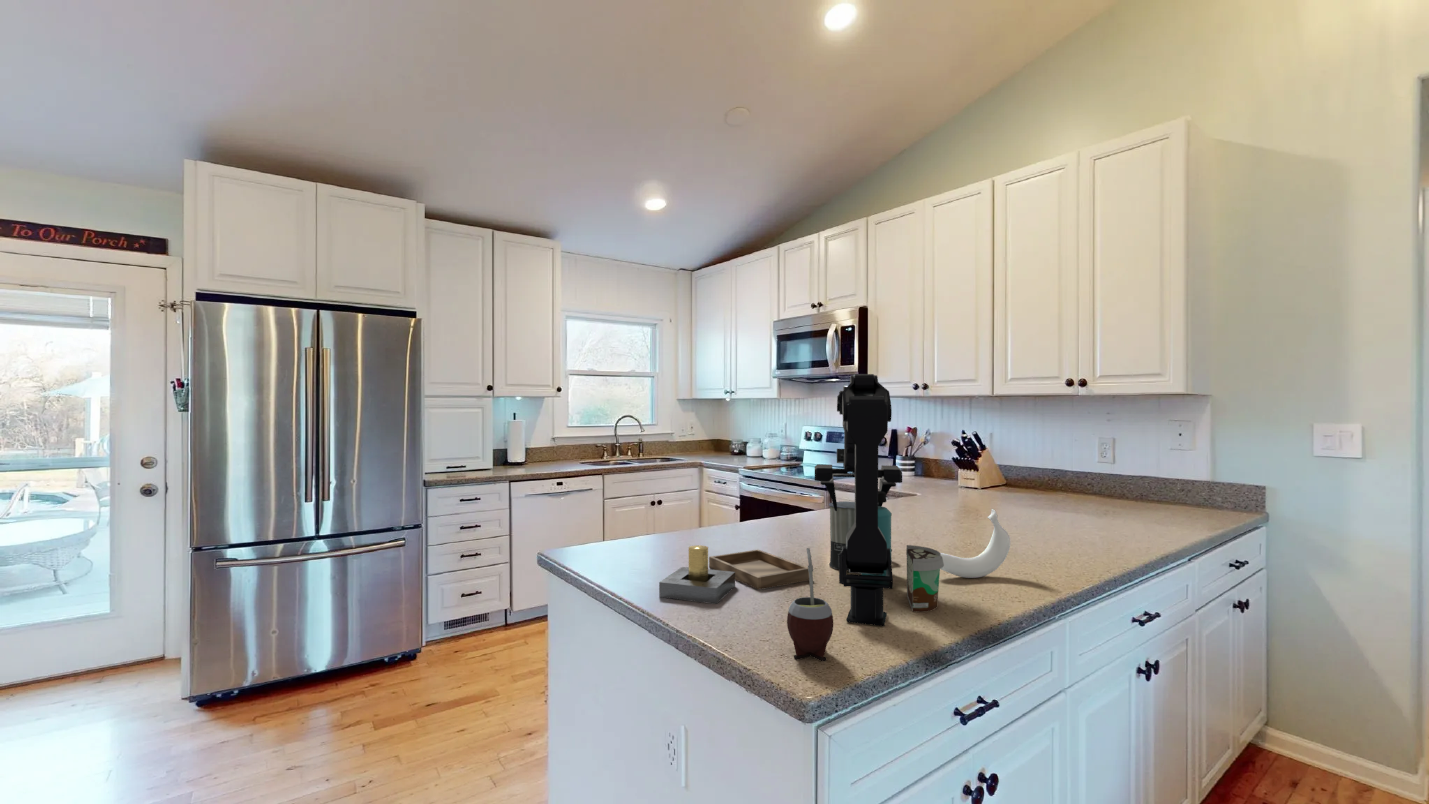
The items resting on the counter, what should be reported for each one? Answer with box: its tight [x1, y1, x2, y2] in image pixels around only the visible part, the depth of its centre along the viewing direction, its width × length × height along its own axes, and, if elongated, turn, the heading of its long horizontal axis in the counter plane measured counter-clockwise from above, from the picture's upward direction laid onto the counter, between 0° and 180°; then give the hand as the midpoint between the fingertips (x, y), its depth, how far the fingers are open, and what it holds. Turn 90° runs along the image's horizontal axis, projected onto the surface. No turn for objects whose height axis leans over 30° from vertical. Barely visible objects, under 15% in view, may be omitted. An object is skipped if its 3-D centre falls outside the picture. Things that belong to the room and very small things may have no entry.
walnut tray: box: [708, 549, 809, 591], centre depth 138 cm, size 20×14×2 cm
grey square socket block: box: [658, 566, 736, 605], centre depth 125 cm, size 12×12×3 cm
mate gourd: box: [786, 547, 834, 663], centre depth 94 cm, size 8×8×15 cm
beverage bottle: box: [860, 490, 893, 576], centre depth 129 cm, size 6×7×20 cm
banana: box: [940, 508, 1011, 579], centre depth 136 cm, size 5×19×15 cm, turn 100°
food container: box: [905, 544, 944, 613], centre depth 117 cm, size 12×6×10 cm, turn 168°
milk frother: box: [828, 501, 893, 572], centre depth 146 cm, size 14×16×15 cm
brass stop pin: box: [688, 544, 709, 582], centre depth 125 cm, size 4×4×9 cm
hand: (856, 511), depth 136 cm, fingers open, 9 cm apart
